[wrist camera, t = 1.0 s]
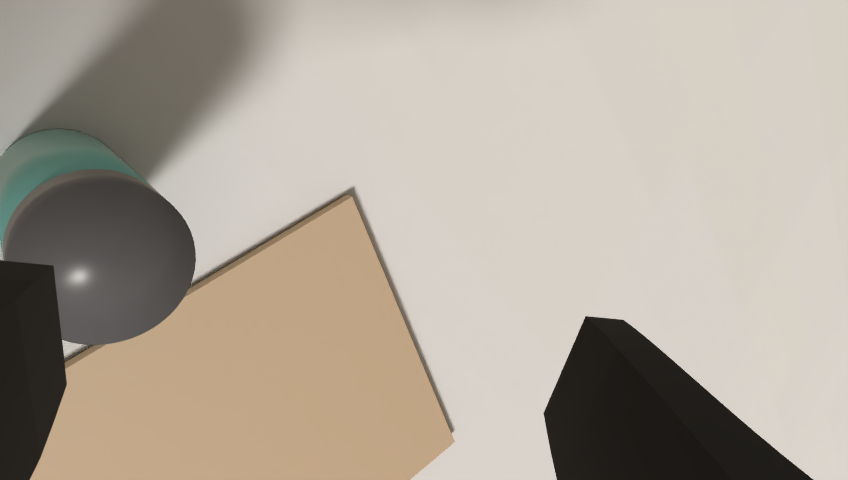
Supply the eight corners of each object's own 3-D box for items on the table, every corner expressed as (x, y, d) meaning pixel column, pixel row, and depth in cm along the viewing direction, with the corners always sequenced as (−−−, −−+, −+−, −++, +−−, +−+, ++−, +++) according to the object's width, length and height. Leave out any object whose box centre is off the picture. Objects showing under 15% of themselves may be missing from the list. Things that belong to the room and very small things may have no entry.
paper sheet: (189, 654, 24) (192, 662, 24) (-39, 424, 18) (-39, 431, 17) (449, 437, 29) (454, 441, 29) (346, 194, 22) (352, 196, 22)
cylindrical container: (39, 265, 18) (73, 376, 12) (-37, 164, 16) (-38, 239, 10) (148, 207, 19) (223, 285, 13) (86, 108, 17) (144, 150, 12)
